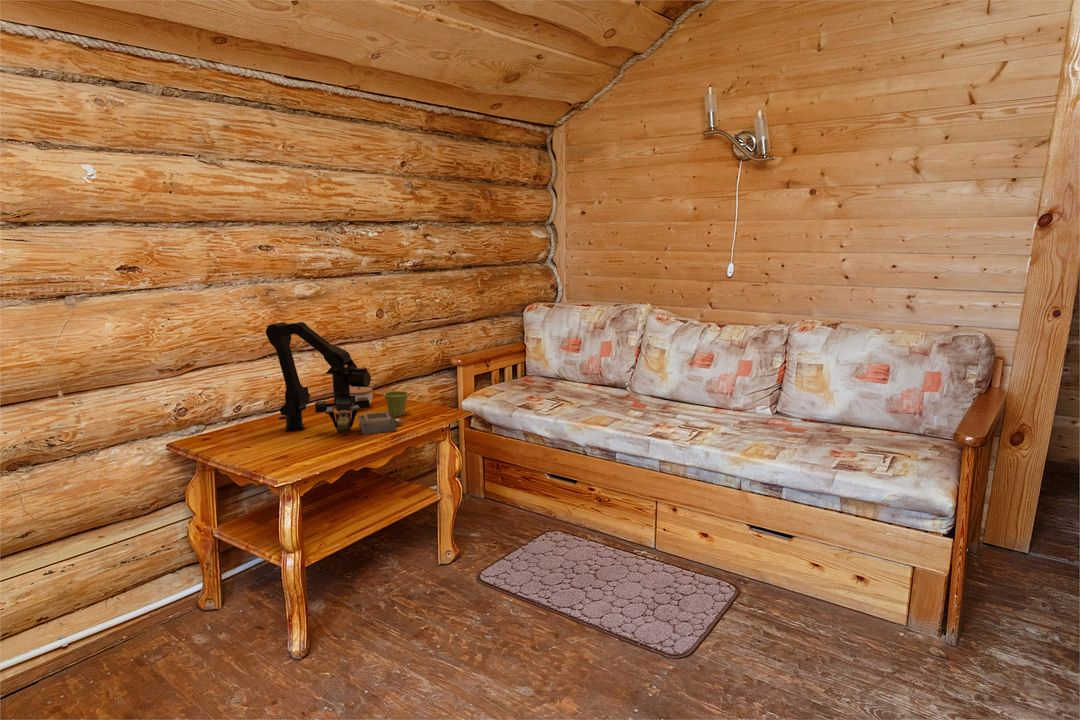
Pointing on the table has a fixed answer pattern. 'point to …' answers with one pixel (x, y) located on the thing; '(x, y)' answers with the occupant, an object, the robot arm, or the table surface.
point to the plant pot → (396, 402)
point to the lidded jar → (361, 392)
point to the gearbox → (378, 422)
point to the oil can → (343, 422)
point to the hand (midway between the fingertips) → (343, 427)
